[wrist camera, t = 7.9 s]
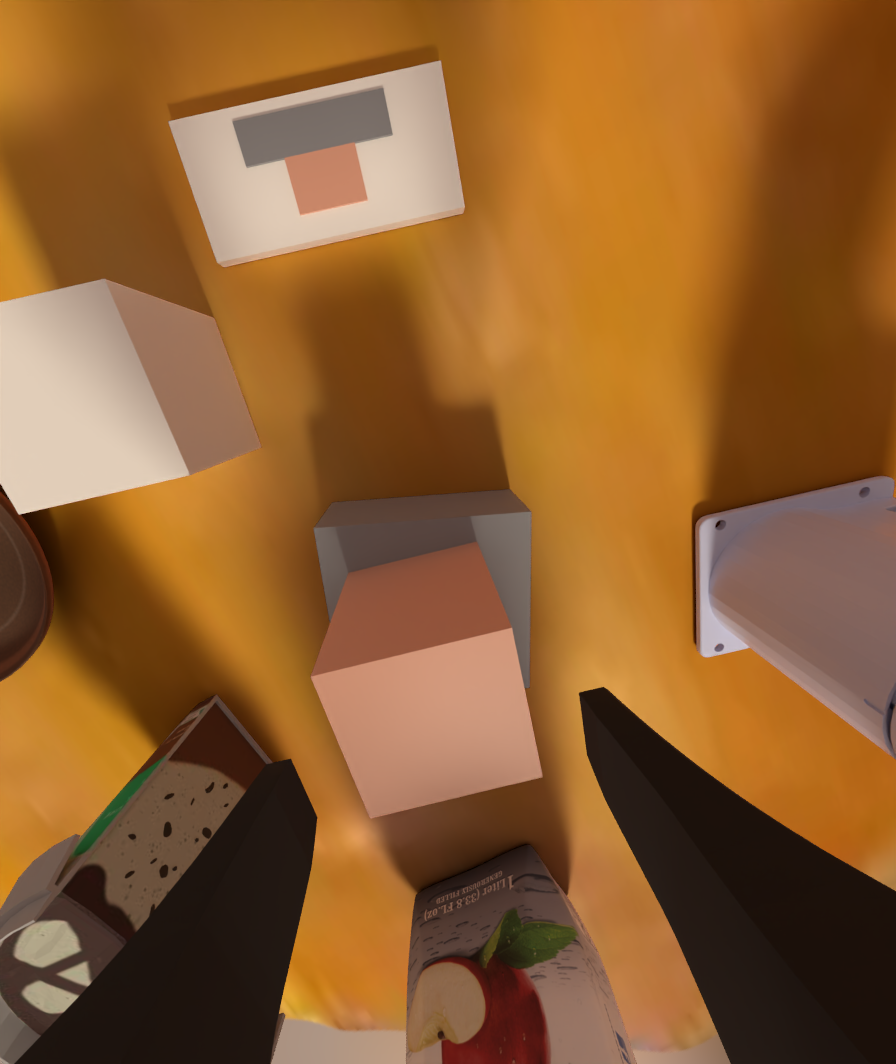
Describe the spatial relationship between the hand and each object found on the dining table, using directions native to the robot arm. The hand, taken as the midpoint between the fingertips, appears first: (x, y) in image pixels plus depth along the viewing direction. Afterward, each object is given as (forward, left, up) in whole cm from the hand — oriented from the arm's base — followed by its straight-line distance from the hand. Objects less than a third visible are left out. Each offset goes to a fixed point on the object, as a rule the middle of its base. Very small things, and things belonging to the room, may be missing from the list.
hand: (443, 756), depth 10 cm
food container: (+14, +9, -11) cm, 20 cm away
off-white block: (+8, -10, -10) cm, 16 cm away
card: (0, -16, -10) cm, 19 cm away
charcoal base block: (0, 0, -11) cm, 11 cm away
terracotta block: (0, 0, -7) cm, 7 cm away
